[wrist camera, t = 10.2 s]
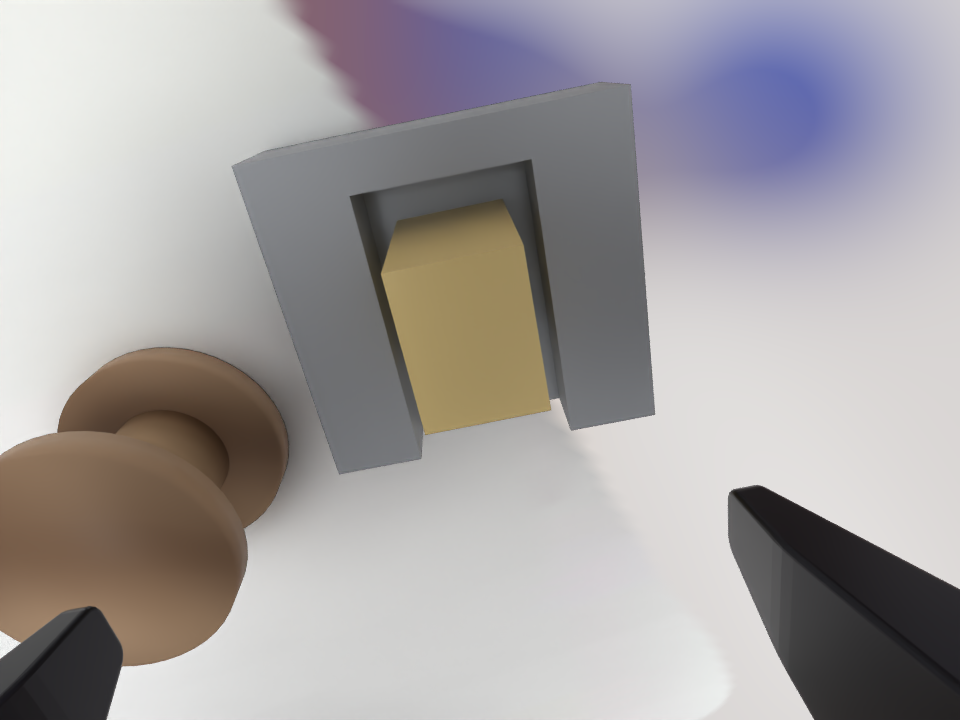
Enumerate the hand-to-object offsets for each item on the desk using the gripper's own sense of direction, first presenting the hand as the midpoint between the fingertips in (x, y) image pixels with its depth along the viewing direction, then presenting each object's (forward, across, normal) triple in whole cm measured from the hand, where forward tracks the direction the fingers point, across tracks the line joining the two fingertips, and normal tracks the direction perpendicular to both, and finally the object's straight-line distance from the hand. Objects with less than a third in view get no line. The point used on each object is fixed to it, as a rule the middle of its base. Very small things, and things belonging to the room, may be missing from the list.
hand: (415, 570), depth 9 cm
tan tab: (+11, -1, -1) cm, 11 cm away
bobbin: (+12, +9, +3) cm, 15 cm away
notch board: (+12, -1, -1) cm, 12 cm away
